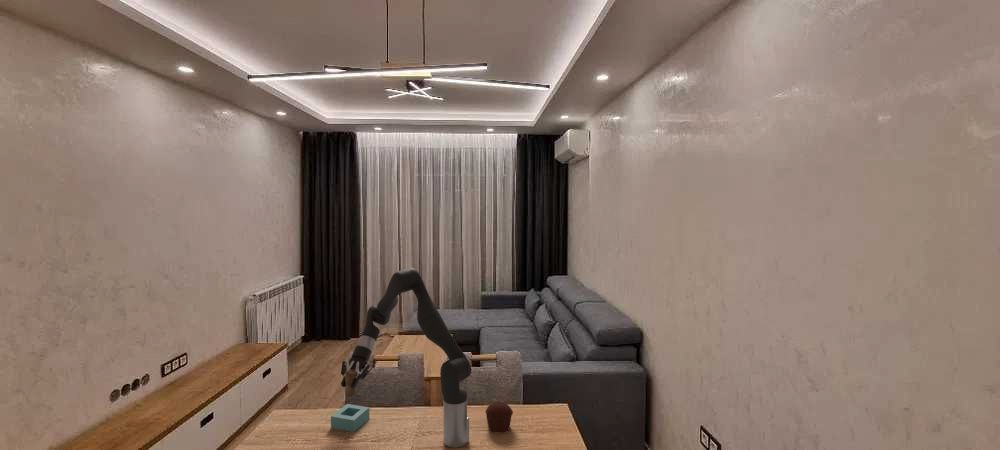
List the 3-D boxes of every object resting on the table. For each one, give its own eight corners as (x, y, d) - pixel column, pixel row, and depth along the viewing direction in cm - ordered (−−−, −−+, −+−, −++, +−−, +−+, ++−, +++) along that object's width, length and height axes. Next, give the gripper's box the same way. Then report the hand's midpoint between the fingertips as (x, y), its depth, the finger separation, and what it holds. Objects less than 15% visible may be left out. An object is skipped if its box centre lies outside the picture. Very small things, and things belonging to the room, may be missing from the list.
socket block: (347, 414, 193) (347, 403, 192) (369, 418, 189) (369, 407, 189) (331, 427, 182) (330, 416, 182) (354, 432, 179) (353, 420, 179)
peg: (354, 391, 188) (354, 368, 187) (356, 395, 184) (356, 372, 183) (344, 393, 186) (344, 370, 185) (346, 397, 182) (345, 374, 181)
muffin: (479, 425, 184) (480, 402, 184) (500, 417, 191) (500, 394, 190) (497, 438, 175) (497, 414, 174) (518, 428, 182) (518, 405, 181)
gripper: (346, 342, 192) (328, 381, 182) (374, 346, 188) (358, 386, 178) (354, 350, 198) (337, 388, 188) (381, 354, 194) (366, 393, 183)
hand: (347, 387), depth 183 cm, fingers closed on peg, 4 cm apart
